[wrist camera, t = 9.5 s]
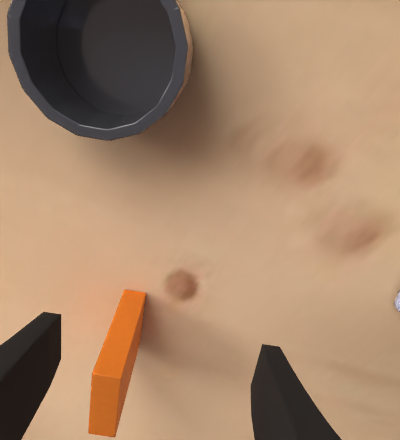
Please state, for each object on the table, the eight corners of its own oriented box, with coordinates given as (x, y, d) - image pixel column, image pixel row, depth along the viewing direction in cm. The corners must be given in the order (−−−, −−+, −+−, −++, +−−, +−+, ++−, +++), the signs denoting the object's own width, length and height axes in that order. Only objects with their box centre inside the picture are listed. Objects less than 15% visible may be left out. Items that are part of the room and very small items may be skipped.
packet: (146, 292, 24) (121, 378, 18) (139, 343, 26) (115, 437, 20) (124, 289, 24) (91, 373, 18) (119, 340, 26) (87, 433, 20)
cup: (203, -20, 17) (200, -40, 14) (181, 133, 20) (173, 152, 16) (50, -48, 17) (2, -76, 13) (49, 110, 20) (10, 124, 16)
